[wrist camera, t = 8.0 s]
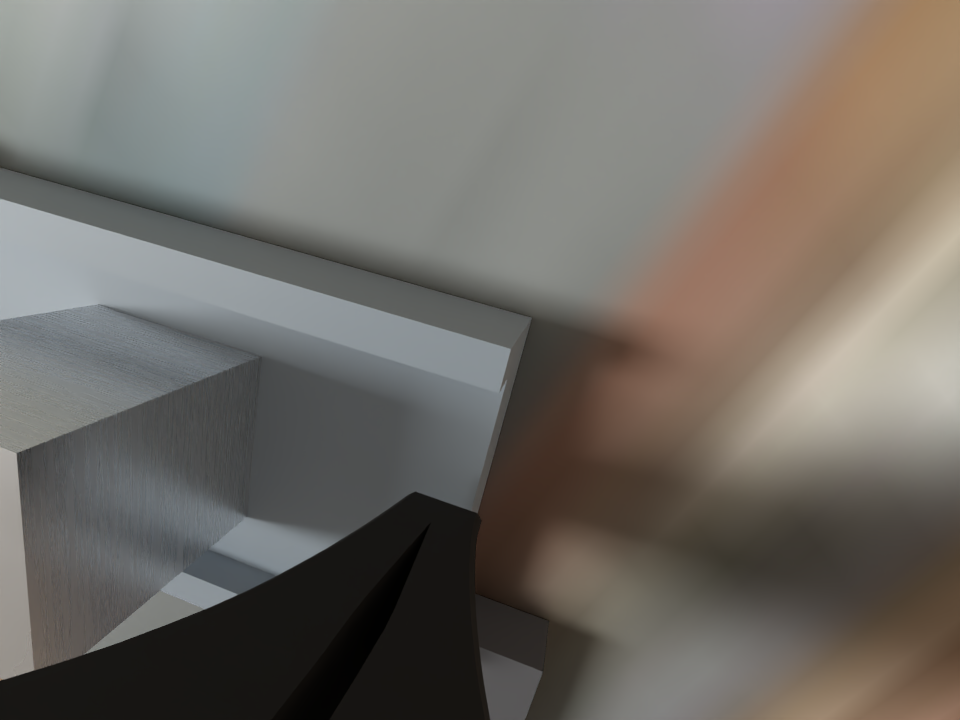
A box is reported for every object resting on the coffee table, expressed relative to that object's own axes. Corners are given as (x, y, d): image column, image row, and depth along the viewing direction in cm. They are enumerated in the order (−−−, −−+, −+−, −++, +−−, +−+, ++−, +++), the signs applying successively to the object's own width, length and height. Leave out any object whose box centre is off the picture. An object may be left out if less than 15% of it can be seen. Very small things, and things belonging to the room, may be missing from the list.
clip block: (246, 516, 11) (36, 694, 7) (101, 462, 12) (-175, 596, 8) (262, 356, 10) (16, 453, 6) (98, 304, 11) (-234, 357, 6)
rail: (450, 612, 13) (413, 710, 11) (-211, 359, 17) (-363, 385, 14) (536, 300, 10) (516, 325, 8) (-276, 74, 14) (-481, 39, 11)
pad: (485, 796, 15) (473, 857, 13) (279, 706, 16) (248, 754, 14) (548, 621, 13) (542, 671, 11) (304, 530, 14) (271, 565, 12)
